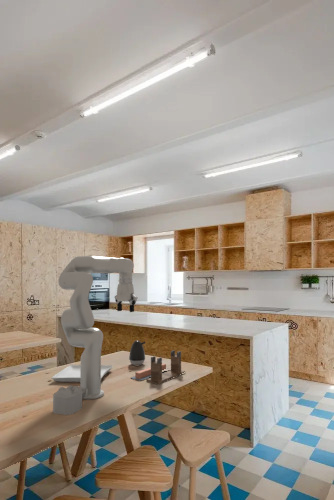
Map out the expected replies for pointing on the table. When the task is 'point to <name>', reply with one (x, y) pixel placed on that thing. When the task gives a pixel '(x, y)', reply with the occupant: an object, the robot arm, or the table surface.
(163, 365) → the rail
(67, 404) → the lumpy-topped squat cylinder
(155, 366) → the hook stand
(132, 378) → the mat
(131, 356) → the pump dispenser
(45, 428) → the table surface
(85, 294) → the robot arm
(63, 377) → the square plate
